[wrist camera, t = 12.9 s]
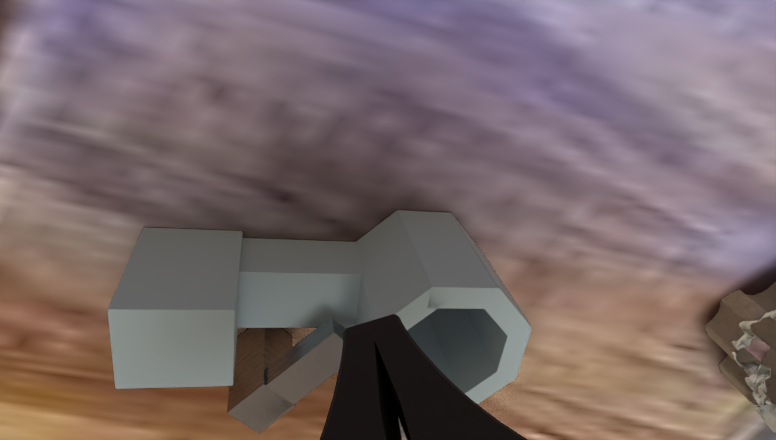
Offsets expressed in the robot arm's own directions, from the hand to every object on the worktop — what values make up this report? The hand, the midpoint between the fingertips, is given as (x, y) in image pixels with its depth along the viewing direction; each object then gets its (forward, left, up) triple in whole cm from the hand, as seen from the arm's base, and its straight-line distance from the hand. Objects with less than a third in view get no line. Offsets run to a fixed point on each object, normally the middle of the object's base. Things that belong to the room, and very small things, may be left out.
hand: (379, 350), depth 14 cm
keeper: (-6, 0, -9) cm, 10 cm away
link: (-3, 0, -9) cm, 9 cm away
